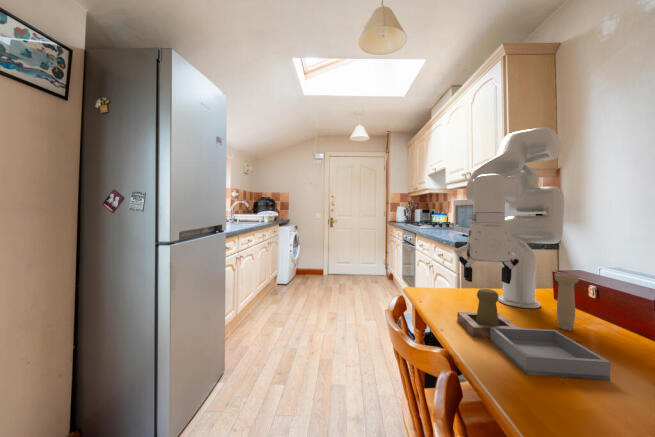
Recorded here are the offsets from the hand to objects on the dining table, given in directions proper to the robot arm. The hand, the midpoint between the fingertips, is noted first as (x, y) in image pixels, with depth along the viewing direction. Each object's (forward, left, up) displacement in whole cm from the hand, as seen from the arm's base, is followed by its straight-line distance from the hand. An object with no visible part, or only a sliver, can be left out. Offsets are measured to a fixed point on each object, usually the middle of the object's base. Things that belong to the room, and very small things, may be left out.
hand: (486, 281), depth 76 cm
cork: (-1, 0, -14) cm, 13 cm away
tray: (+14, +5, -13) cm, 20 cm away
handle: (-4, +22, -13) cm, 26 cm away
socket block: (-1, 0, -13) cm, 13 cm away
